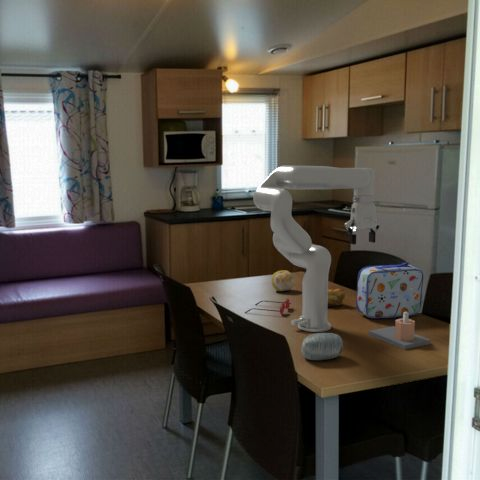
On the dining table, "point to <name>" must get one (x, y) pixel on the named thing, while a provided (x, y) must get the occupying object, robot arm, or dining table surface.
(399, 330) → the bead
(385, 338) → the grey peg stand
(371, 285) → the lunch box
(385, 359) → the dining table surface
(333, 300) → the bread roll
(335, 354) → the grey yarn ball
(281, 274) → the fruit
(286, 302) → the glasses
